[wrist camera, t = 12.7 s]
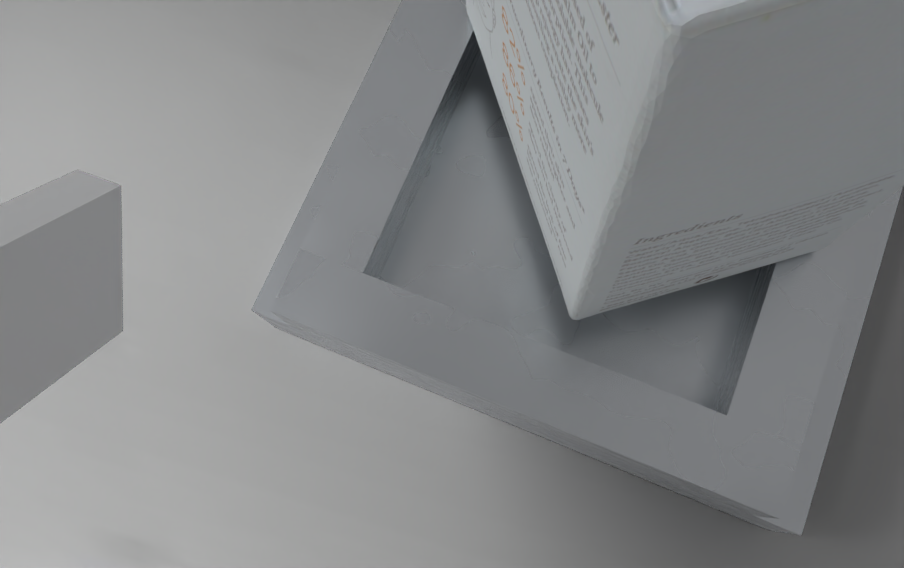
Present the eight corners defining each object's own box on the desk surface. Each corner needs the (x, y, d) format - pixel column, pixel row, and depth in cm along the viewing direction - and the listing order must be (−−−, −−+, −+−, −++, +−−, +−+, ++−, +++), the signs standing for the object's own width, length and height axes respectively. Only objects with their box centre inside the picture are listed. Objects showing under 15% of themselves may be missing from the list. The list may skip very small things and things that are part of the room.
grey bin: (275, 327, 20) (-56, 88, 8) (502, -149, 23) (505, -805, 11) (811, 547, 18) (1444, 669, 6) (972, -14, 21) (1571, -650, 9)
